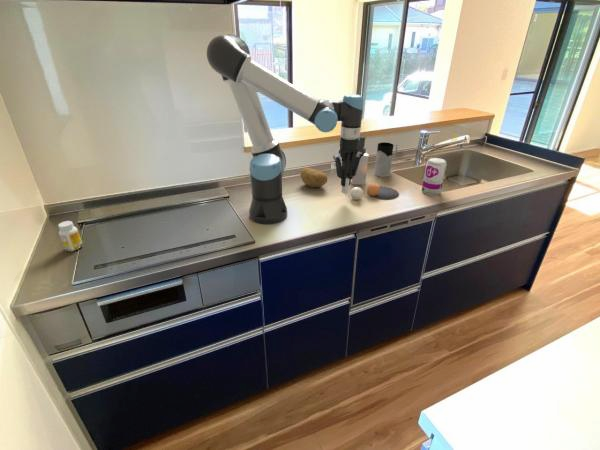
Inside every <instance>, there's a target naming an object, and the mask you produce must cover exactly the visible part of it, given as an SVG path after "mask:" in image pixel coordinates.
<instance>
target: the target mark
mask: <svg viewBox="0 0 600 450" xmlns="http://www.w3.org/2000/svg"><path fill="white" fill-rule="evenodd" d="M378 186H379V185H378ZM379 187H380V192H379V193H378V194H377V195H376V196H371V195H369V194H368V192H367V191H366V192H367V195H368V196H370V197H371V198H374V199H377V200H385V201H387V200H388V201H389V200H394V199H397V198H398V197H399V196H400V193H399V191H398V190H397V189H395V188H392V187H388V186H381V185H380V186H379Z"/></svg>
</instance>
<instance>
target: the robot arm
mask: <svg viewBox="0 0 600 450" xmlns="http://www.w3.org/2000/svg"><path fill="white" fill-rule="evenodd" d="M206 59H207V62H208V63H209V66H210V67H211V69H212V70H213V71H215V72H216V73H217V74H219V75H221V78H222V80H223V82H224V83H226V84H228V85H229V87H230V90H231V93H232V96H233V98H234V100H235V102H236V103H235V104H236V105H237V108H238V111H239V113H240V115H241V119H242V121H243V124H244V126H245V130H246V132H247V134H248V136H249V139H250V141H251V145H252V147H251V151H250V152H251V154H252V158H251V159H250V161H249V173H250V183H251V186H250V187H251V196H252V198H251V203H250V206H249V209H248V214H249V219H250V221H252V222H255V223H256V224H260V225H261V224H262V225H272V224H277V223H281V222H283V221H284V220H286V218H287V217H288V208H287V205H286V203H285V200H284V197H283V176H284V171H285V168H286V166H287V158H286V155H285V152H284V151H283V149H281V146H280V143H279V141H278V140H276V139H274V137H273V135H272V131H271V129H270V126H269V124H268V123H269V122H268V120H267V118H266V114H265V111H264V108H263V106H262V103H261V100H260V97H259V95H258V93H259V94H261V95H263V96H265V97H267V98H268V99H270V100H272V101H273V102H275V103H276V104H279V106H282V107H284V109H285V108H286V109H287V110H289V111H291V112H292V113H294V114H296V115H297V116H299V117H300V118H303V119H305V120H306V121H308V122H309V123H311V124H313V125H314V126H315V127H316V128H317V129H318V131H320V132H322V133H330V132H332V131H333V130H334V129H335V128H336V126H337V124H338V122H341V124H340V133H339V134H340V138H339V150H338V153H337V154H336V155H335V154H334V155H333V157H332V158H333V160H334V162H335V163H334V164H335V170H336V176H337V177H338V178H339V179H340V180H341V181H340V186H341V193H343V194H344V195H347V194H349V187H350V185H351V179H352V178H353V176H355V175H356V172H357V168H358V165H359V162H360V159H361V157H362V156H363V154H362V153H360V152H358V147H359V140H360V139H359V137H360V136H361V129H362V120H363V111H364V98H363V96H362V95H360V94H353V93H352V94H348V93H347V94H344V95H343V97H342V99H340V100H338V99H337V100H336V99H335V100H334V99H317V98H315V97H314V96H312V95H311V94H308V92H306V91H304V90H302V89H301V88H299V87H297V86H295V85H293V83H290V82H289V81H287V80H286V79H284V78H282V77H280V75H277V74H276V73H274V72H272V71H271V70H268V69H267V68H266V67H263V66H262V65H261V64H259V63H258V62H255V61H254V60H253V59H252V56H251V52H250V48H249V46H248V43H246V42H245V40H244V39H242V38H241V37H240V36H238V35H235V34H229V33H228V34H224V35H222V34H221V35H217V36H214V37H213V38H212V39H211V40H210V42H209V43H208V45H207V47H206Z"/></svg>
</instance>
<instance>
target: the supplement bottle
mask: <svg viewBox="0 0 600 450" xmlns="http://www.w3.org/2000/svg"><path fill="white" fill-rule="evenodd" d="M57 226H58V229H59V231H58V235H59V238H60V241H61V244H62V245H63V248H64V251H66V250H74V249H77V248H78V247H79V246H80V245H81V244H82V243H83V240H82V238H81V235H80V233H79V229H78V228H77V227H76V226H75V225H74V223H73V221H71V220H66V221H62V222H60V223H58V225H57Z"/></svg>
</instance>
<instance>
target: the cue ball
mask: <svg viewBox="0 0 600 450" xmlns="http://www.w3.org/2000/svg"><path fill="white" fill-rule="evenodd" d="M349 195H350V198H352V199H353V200H357V201H358V200H360V199H362V197H363V196H364V191H363V189H362V188H361V187H359V186H355V187H352V188H351V189H350V192H349Z"/></svg>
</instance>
